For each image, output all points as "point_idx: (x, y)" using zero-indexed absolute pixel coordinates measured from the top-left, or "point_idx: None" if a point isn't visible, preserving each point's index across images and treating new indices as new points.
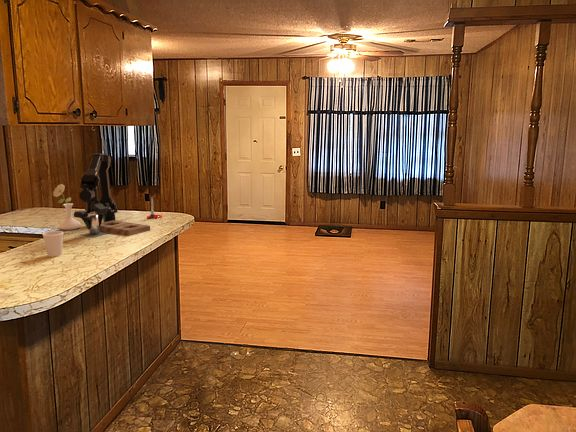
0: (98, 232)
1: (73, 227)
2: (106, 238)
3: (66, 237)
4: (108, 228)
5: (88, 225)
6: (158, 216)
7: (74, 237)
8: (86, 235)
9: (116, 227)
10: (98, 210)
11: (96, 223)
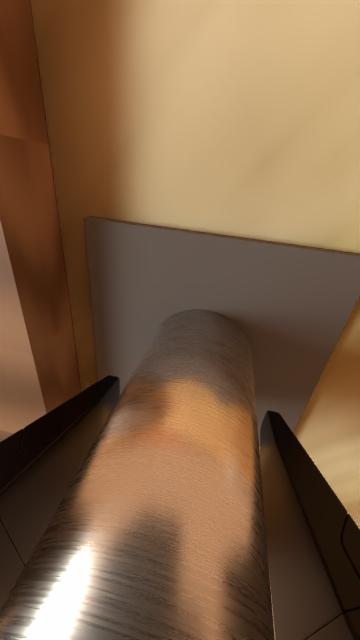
0: (190, 321)
1: None
2: (320, 43)
3: (352, 490)
4: (32, 303)
5: (318, 480)
6: None
7: (341, 447)
8: (279, 390)
9: None
10: None
11: (192, 424)
